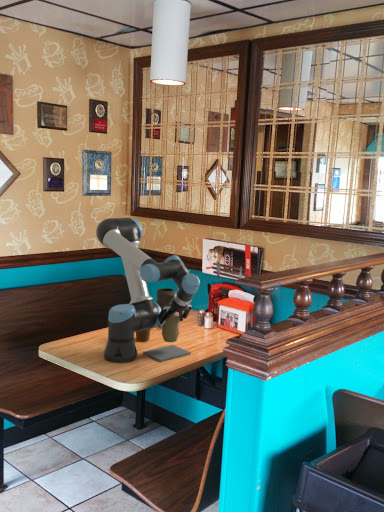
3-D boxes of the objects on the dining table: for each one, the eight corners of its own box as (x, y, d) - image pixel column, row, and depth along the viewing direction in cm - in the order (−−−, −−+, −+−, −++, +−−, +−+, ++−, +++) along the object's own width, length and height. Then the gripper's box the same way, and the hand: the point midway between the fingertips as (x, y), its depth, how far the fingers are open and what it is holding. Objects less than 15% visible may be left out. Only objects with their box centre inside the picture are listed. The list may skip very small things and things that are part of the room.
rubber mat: (160, 362, 237) (160, 359, 237) (143, 353, 247) (143, 351, 247) (190, 354, 249) (190, 352, 249) (172, 346, 259) (172, 344, 259)
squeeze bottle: (176, 344, 244) (177, 306, 241) (159, 342, 246) (160, 304, 243) (180, 339, 252) (181, 302, 249) (164, 337, 253) (164, 300, 251)
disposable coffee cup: (143, 344, 260) (144, 320, 258) (129, 339, 266) (129, 316, 264) (156, 339, 268) (156, 316, 266) (142, 335, 273) (142, 313, 272)
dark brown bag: (151, 323, 295) (152, 288, 292) (165, 320, 302) (167, 286, 299) (168, 330, 284) (170, 294, 281) (183, 327, 291) (185, 292, 288)
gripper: (163, 308, 228) (150, 334, 245) (204, 305, 235) (188, 330, 253) (159, 293, 232) (146, 320, 249) (199, 291, 239) (184, 316, 257)
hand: (167, 325), depth 251 cm, fingers closed on squeeze bottle, 6 cm apart
